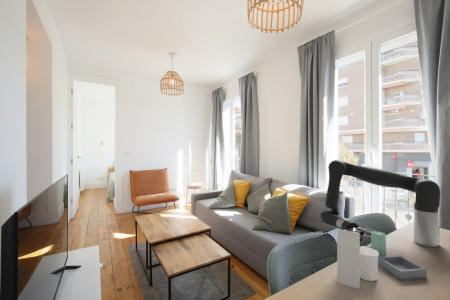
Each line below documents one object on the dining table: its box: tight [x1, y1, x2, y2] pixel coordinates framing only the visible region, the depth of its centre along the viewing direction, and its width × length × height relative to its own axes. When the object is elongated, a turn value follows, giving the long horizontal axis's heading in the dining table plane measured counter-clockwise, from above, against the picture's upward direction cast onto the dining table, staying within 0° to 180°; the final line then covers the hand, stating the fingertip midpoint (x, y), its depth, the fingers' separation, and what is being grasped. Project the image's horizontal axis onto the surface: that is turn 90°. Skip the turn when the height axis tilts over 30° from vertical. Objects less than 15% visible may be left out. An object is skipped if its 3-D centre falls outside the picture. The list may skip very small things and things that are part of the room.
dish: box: [378, 254, 428, 282], centre depth 88 cm, size 11×11×4 cm
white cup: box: [360, 245, 379, 282], centre depth 85 cm, size 8×8×10 cm
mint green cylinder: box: [370, 230, 387, 257], centre depth 99 cm, size 6×6×11 cm
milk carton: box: [336, 228, 361, 290], centre depth 82 cm, size 7×7×19 cm
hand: (369, 238), depth 104 cm, fingers open, 8 cm apart
